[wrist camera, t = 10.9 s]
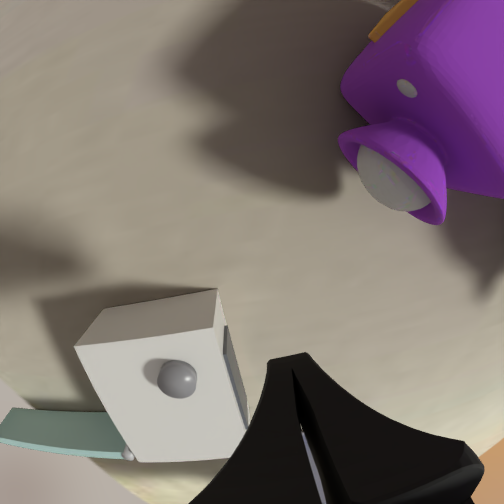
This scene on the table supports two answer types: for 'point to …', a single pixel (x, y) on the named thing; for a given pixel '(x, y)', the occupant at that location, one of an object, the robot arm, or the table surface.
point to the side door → (65, 433)
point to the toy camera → (429, 105)
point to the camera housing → (168, 377)
